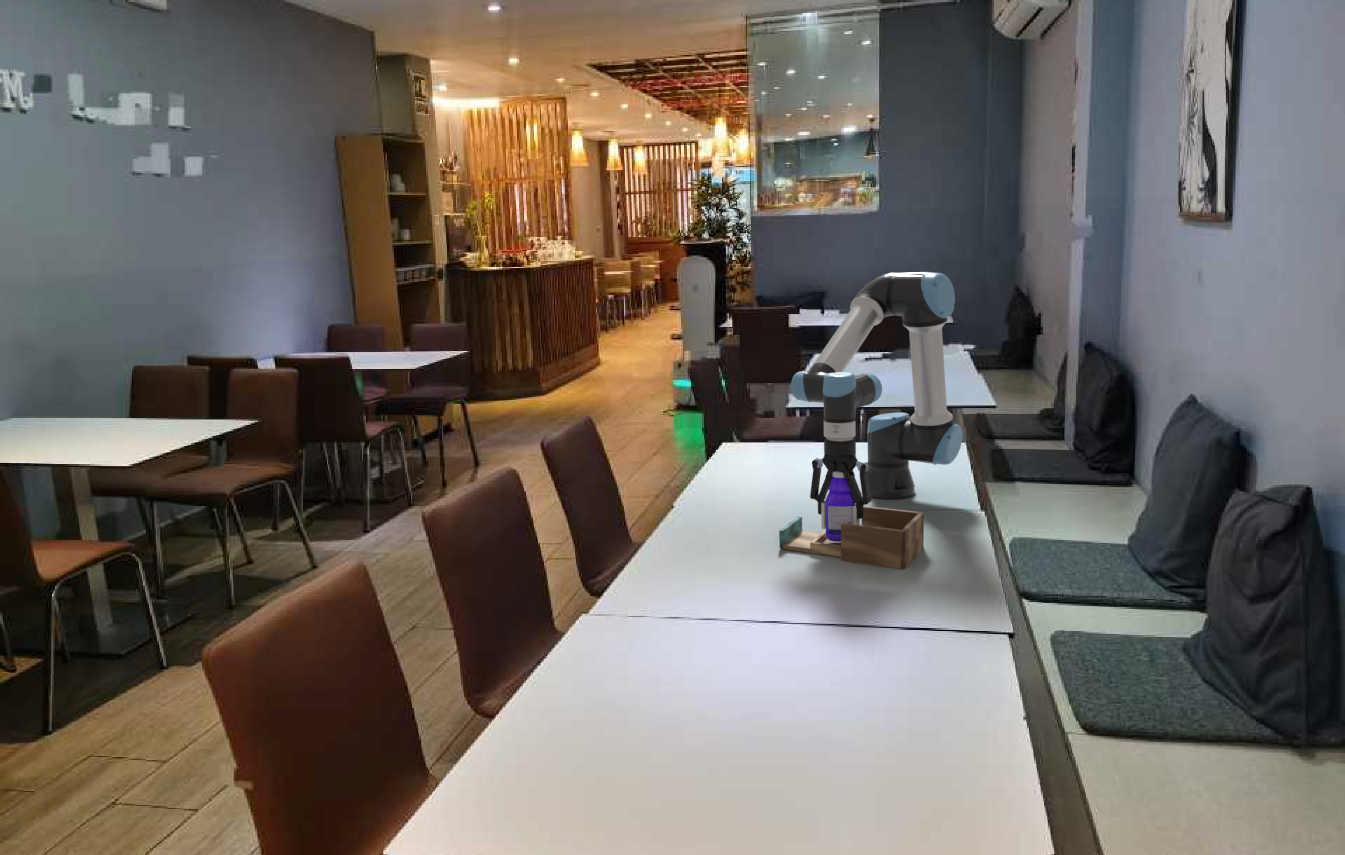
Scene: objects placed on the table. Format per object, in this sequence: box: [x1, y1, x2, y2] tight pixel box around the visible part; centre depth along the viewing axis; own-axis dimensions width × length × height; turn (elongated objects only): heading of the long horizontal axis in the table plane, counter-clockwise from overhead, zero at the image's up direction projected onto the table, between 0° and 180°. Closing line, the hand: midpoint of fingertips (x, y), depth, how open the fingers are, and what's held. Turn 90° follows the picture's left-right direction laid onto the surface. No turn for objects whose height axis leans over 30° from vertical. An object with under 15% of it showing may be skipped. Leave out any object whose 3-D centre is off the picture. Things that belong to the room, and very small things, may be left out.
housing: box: [840, 505, 925, 570], centre depth 230 cm, size 16×15×9 cm
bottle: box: [824, 471, 856, 542], centre depth 234 cm, size 7×6×17 cm
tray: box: [778, 516, 841, 558], centre depth 237 cm, size 12×21×5 cm, turn 61°
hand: (840, 528), depth 235 cm, fingers closed on bottle, 7 cm apart
